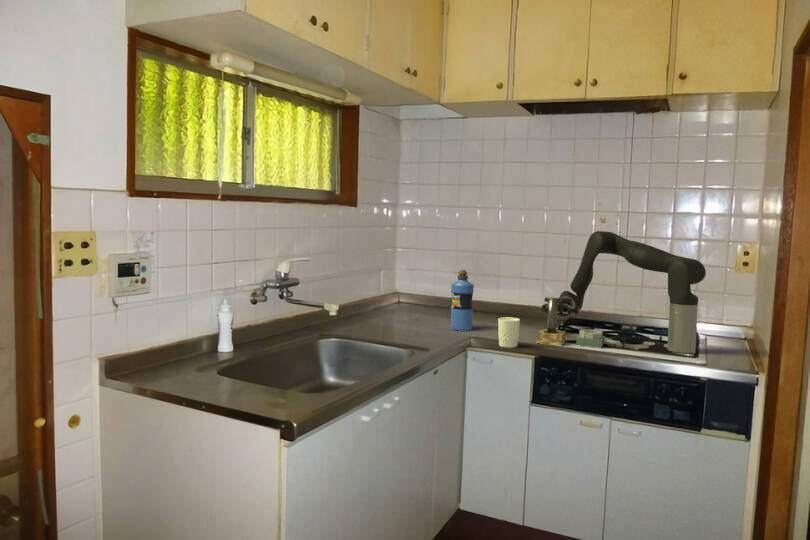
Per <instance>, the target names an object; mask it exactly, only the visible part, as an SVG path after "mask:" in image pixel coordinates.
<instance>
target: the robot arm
mask: <svg viewBox="0 0 810 540" xmlns="http://www.w3.org/2000/svg"><path fill="white" fill-rule="evenodd" d="M599 254H607V255H609V254H610V255H615V256H619V257H621V258H624V259H625V260H626V261H627V262H628V263H629V264H631V265H632V266H635V267H637V268H640V269H642V270H647V271H650V272H651V271H653V272H658V273H664V274H665V273H666V274H667V294H668V297H669V310H668V327H667V331H668V332H667V342H666V343H667V345H666V346H667V348H666V349H667V351H670V352H674V353H679V354H696V349H697V348H696V347H697V346H696V345H697V330H698V311H699V310H698V309H699V297H698V296H697V295H696V294H694V293H692V290H691V289H692V287H691V286H692V285H696V284H698V283H699V284H700V283H701V282H702V281H703V280H704V279H705V277H706V275H707V273H706V268H705V265H704V264H703V263H702V262H701V261H699V260H697V259H694V258H689V257H685V256H679V255H675V254H672V253H671V252H668V251H665V250H663V249H659V248H657V247H655V246H651V245H649V244H645V243H643V242H639V241H636V240H631V239H626V238H625V237H622V236H621V235H619V234H616V233H615V232H611V231H602V230H596V231H594V232H593V233H591V234H590V236H589V237H588V239H587V243H586V245H585V250H584V252H583V255H582V259H581V262H580V264H579V267H578V269H577V272H576V274H575V275H574V277H573V279H572V281H571V283H570V285H569V286H570V288H569V289H571V291H573V292H571V291H569V290H563V291H562V292H561V294H560V295H559V297H558V298H560V299H561V303H557V316H559V317H567V316H569V315H573V314H575V315H578V314H579V313H580V311H581V310H582V308H583V304H584V300H585V294H586V291H587V290H588V288H589V286H590V284H591V282H592V280H593V278H594V277H593V276H594V263H595V260H596V258H597V257H598V255H599ZM574 293H575V294H574ZM541 312H544V313H546V314H548V303H543V304H541Z"/></svg>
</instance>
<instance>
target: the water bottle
mask: <svg viewBox="0 0 810 540" xmlns="http://www.w3.org/2000/svg"><path fill="white" fill-rule="evenodd" d="M457 273H458V275H457V280H456V281H455V282H453V283H451V284H450V285H451V286H450V287H451V288H450V292H451V307H450V330H451V329H452V330H451V331H454V330H458V331H457V332H470V331H469V330H471V331H473V317H474V316H473V315H474V313H473V311H474V310H473V296H474V295H473V294H474V291H475V290H474V289H475V288H474V284H473V283H471V282H470V281H468V278H469V277H468V276H469V275H467V274H468V271H466V270H465V269H460V270H459V271H458V272H457Z"/></svg>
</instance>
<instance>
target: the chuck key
mask: <svg viewBox="0 0 810 540" xmlns="http://www.w3.org/2000/svg"><path fill="white" fill-rule="evenodd" d="M544 302H547V304H548V313H547V321H546V322H547V327H546V329H547V333H553V334H556V330H557V325H558V324H557V322H558V321H557V320H558V314H557V303H561V299H560V298H559V297H544Z"/></svg>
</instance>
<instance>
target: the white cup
mask: <svg viewBox="0 0 810 540" xmlns="http://www.w3.org/2000/svg"><path fill="white" fill-rule="evenodd" d="M520 323H521V320H520V318H517V317H511V316H510V317H507V316H505V317H504V316H503V317H499V318H498V319H497V331H498V335H497V336H498V345H499V347H502V348H509V349H511V348H512V349H513V348H517V347H518V346H519V345H518V343H519V338H520V337H519V334H520Z"/></svg>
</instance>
